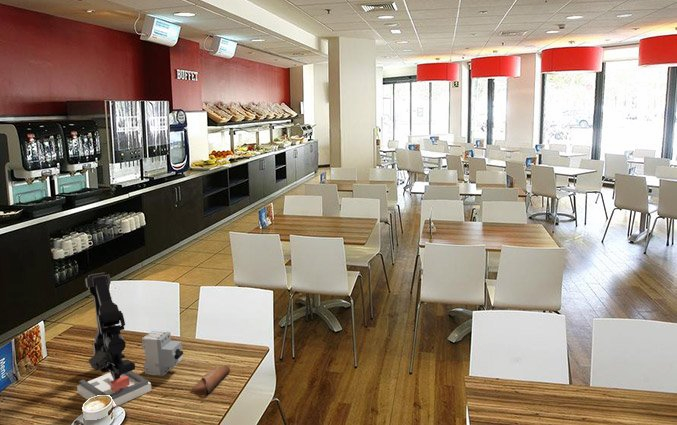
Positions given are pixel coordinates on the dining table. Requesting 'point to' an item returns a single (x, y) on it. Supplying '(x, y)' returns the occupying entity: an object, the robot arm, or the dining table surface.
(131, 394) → the switch panel
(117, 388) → the lever
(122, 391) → the grey frame
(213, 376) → the sunglasses case
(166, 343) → the circuit breaker
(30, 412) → the dining table surface
